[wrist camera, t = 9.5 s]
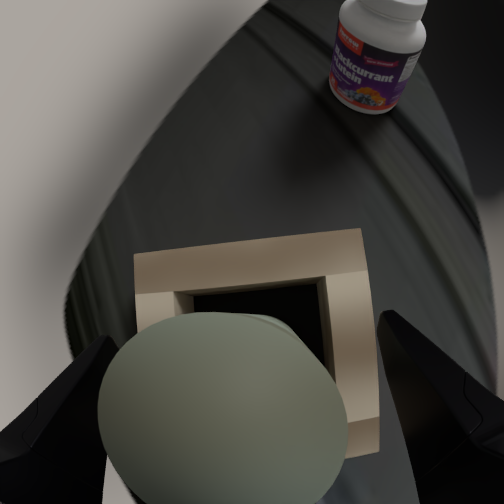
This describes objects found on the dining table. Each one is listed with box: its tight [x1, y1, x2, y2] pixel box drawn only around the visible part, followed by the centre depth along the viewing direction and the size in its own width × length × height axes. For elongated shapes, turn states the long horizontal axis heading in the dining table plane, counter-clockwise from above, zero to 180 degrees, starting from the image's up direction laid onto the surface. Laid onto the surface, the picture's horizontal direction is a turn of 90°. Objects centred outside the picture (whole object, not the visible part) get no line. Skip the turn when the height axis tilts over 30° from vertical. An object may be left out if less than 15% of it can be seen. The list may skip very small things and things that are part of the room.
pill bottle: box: [329, 0, 427, 114], centre depth 15 cm, size 5×5×10 cm
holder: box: [134, 228, 379, 459], centre depth 15 cm, size 11×11×4 cm
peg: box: [98, 312, 348, 504], centre depth 10 cm, size 4×4×12 cm
